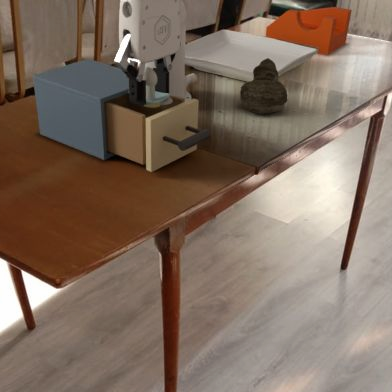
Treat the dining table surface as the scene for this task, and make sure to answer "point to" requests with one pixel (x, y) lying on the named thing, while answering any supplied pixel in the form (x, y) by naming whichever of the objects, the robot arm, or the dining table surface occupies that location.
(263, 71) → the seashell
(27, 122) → the dining table surface
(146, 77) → the pacifier
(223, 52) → the square plate
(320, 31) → the tape dispenser
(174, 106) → the drawer
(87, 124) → the cabinet
